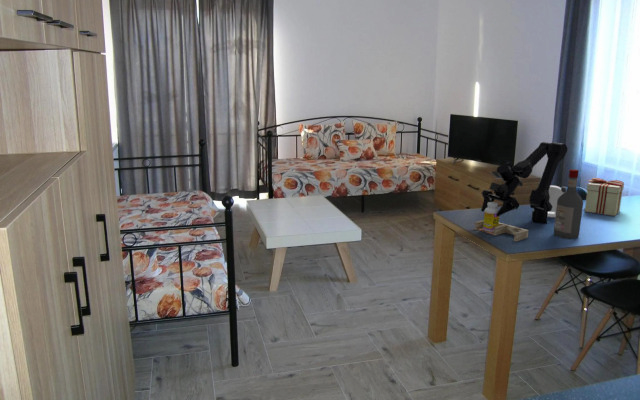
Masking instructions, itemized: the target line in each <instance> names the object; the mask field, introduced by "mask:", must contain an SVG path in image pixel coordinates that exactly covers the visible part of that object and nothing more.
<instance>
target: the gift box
mask: <svg viewBox="0 0 640 400" xmlns="http://www.w3.org/2000/svg"><path fill="white" fill-rule="evenodd" d="M587 182H588V183H587V185H586V198H585V205H584V207H585V208H584V213H585V212H586V213H592V214H598V215H605V216H613V217H615V216H616V215H618V213H619V212H620V210H621V203H622V195H623V191H624V189H625V187H624V186H625V183H624V181H621V180H617V179H615V180H605V179H604V178H599V177H593V178H591V179H588V180H587Z"/></svg>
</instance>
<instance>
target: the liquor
mask: <svg viewBox="0 0 640 400" xmlns="http://www.w3.org/2000/svg"><path fill="white" fill-rule="evenodd" d="M578 178H579V169H569V171H568V183H567V187H566V192H565V193H563V194H562V195H561V196H560V197H559V198H558V200H557V208H556V217H554V219H555V220H554V224H553V225H554V226H553V234H554V236H555V237H558V238H561V239H563V240H564V239H566V240H572V239H577V238H579V236H580V230H581V223H582V216H583V209H584V202H583V199H582V197H581V196H580V195H579V193H578V192H577V191H578V190H577V184H578V183H577V182H578Z"/></svg>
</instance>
